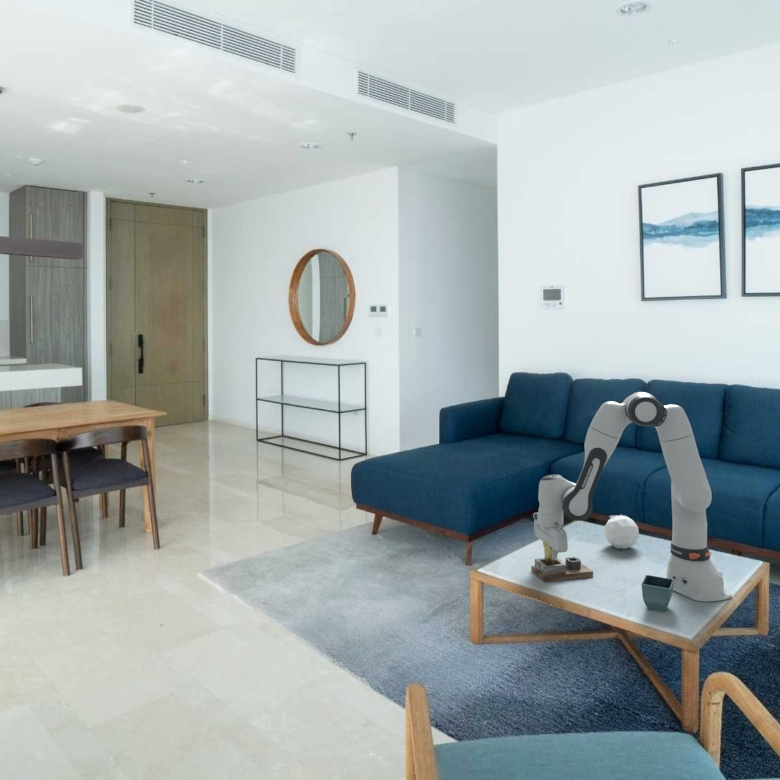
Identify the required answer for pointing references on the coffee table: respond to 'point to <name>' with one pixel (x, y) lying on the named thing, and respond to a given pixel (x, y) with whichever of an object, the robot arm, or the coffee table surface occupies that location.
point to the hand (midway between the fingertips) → (550, 556)
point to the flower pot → (657, 592)
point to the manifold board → (561, 570)
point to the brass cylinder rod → (549, 555)
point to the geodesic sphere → (621, 531)
